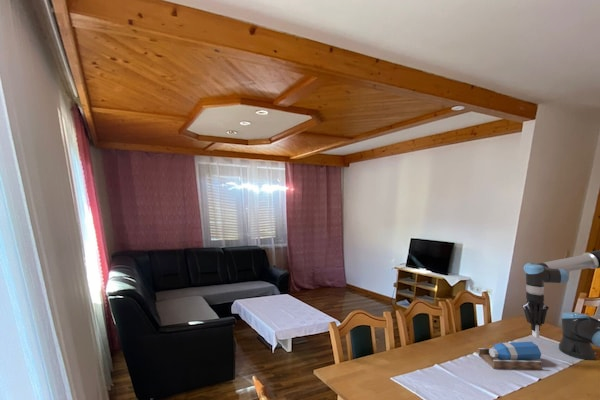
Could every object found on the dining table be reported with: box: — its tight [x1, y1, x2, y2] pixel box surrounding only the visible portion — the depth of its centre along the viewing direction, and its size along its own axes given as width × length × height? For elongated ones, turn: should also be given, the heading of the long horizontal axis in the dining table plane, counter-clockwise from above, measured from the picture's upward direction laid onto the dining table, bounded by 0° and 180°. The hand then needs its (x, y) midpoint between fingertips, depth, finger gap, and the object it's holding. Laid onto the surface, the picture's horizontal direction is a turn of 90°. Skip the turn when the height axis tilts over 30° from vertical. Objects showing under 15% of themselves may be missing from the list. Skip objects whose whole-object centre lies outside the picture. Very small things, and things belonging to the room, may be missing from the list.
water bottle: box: [489, 341, 542, 361], centre depth 151 cm, size 9×9×25 cm
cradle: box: [478, 347, 543, 371], centre depth 151 cm, size 24×13×4 cm, turn 89°
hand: (535, 336), depth 151 cm, fingers closed
